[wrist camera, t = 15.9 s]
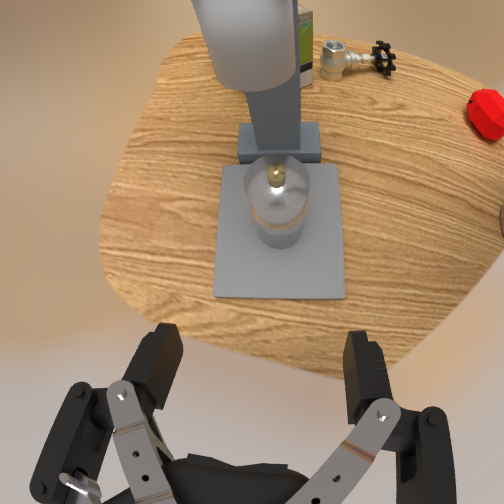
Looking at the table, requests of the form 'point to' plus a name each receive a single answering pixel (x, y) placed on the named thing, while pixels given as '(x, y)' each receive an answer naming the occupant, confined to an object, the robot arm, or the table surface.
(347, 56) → the valve
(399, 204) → the table surface
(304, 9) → the tea box
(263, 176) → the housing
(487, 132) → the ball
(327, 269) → the press
